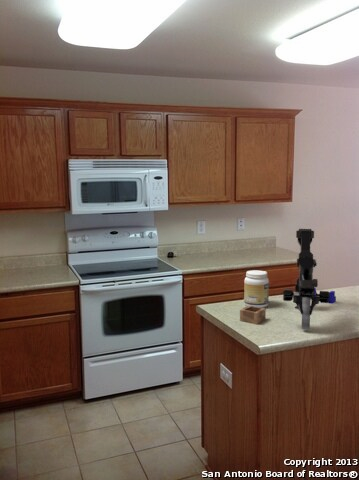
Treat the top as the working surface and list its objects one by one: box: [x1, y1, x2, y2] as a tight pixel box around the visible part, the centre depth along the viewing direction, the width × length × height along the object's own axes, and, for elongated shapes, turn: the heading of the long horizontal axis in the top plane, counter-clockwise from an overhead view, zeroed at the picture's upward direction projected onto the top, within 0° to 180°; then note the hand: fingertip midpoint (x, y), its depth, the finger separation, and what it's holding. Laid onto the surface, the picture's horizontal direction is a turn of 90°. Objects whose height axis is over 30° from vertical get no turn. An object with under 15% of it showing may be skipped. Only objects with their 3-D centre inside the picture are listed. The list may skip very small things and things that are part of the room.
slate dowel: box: [301, 297, 312, 331], centre depth 173 cm, size 3×3×13 cm
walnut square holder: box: [239, 306, 266, 325], centre depth 189 cm, size 8×8×5 cm
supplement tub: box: [243, 269, 270, 308], centre depth 210 cm, size 12×12×17 cm
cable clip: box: [311, 287, 337, 305], centre depth 216 cm, size 12×4×6 cm, turn 45°
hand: (306, 314), depth 172 cm, fingers closed on slate dowel, 3 cm apart
